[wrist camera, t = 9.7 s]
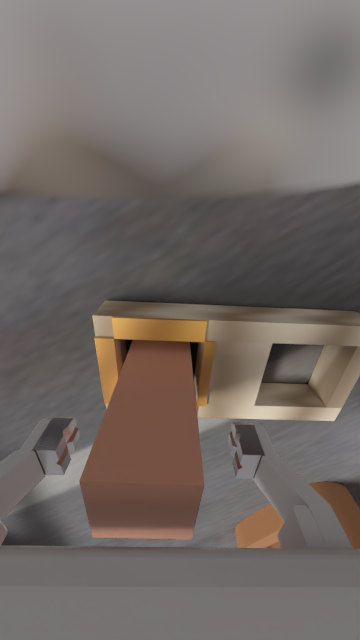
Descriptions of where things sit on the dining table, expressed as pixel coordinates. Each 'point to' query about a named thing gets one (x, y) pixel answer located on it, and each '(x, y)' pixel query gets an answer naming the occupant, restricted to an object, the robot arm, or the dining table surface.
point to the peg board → (239, 354)
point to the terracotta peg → (147, 449)
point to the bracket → (268, 522)
